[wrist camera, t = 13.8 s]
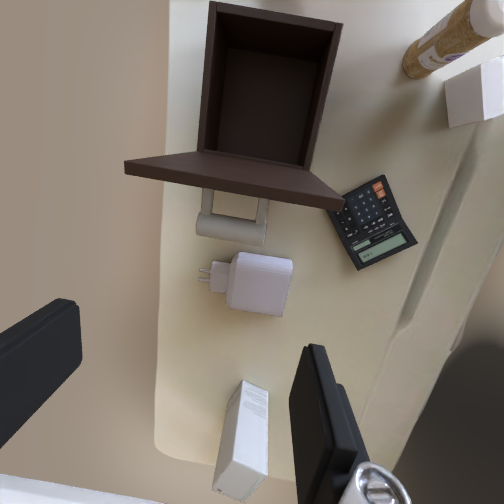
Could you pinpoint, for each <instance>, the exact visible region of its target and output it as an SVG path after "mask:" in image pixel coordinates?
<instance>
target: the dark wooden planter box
mask: <svg viewBox="0 0 504 504" xmlns="http://www.w3.org/2000/svg"><path fill="white" fill-rule="evenodd" d="M342 28H343V24H342V23H335V22H331V21H326V20H320V19H314V18H308V17H303V16H297V15H291V14H285V13H280V12H274V11H268V10H262V9H257V8H251V7H245V6H239V5H234V4H228V3H222V2H216V1H209V12H208V24H207V36H206V48H205V60H204V72H203V84H202V96H201V108H200V119H199V131H198V143H197V152H202V153H208V154H214V155H220V156H225V157H231V158H237V159H242V160H248V161H254V162H259V163H265V164H271V165H277V166H282V167H288V168H294V169H299V170H305V171H310V167H311V162H312V158H313V154H314V149H315V145H316V141H317V136H318V132H319V128H320V123H321V119H322V115H323V110H324V106H325V102H326V97H327V93H328V89H329V84H330V80H331V76H332V71H333V67H334V63H335V59H336V54H337V50H338V46H339V41H340V37H341V33H342Z"/></svg>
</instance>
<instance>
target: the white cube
mask: <svg viewBox="0 0 504 504" xmlns="http://www.w3.org/2000/svg"><path fill="white" fill-rule="evenodd" d="M444 85H445V94H446V104H447V113H448V122H449V128H452V127H456V126H461V125H466V124H471V123H476V122H480V121H485V120H488V119H490V118H493V117H496V116H499V115H502V114H504V55H502V56H499V57H497V58H494V59H492V60H489V61H487V62H484V63H481V64H479V65H477V66H475V67H473V68H471V69H469V70H467V71H465V72H463V73H460V74H458V75H456V76H454V77H452V78H450V79H448V80H446V81H444Z"/></svg>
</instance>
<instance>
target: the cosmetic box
mask: <svg viewBox="0 0 504 504" xmlns="http://www.w3.org/2000/svg"><path fill="white" fill-rule="evenodd" d="M267 466H268V391H265V390H263V389H261V388H259V387H256V386H254V385H252V384H250V383H248V382H245V381H242V382H241V384H240V385H239V387H238V388H237V390H236V391H235V393H234V394H233V396H232V398H231V399H230V401H229V402H228V404H227V409H226V414H225V420H224V425H223V431H222V436H221V442H220V447H219V452H218V458H217V463H216V468H215V474H214V479H213V485H212V490H213V491H215V492H218V493H221V494H223V495H226V496H228V497H231V498H233V499H236V500H238V501H241V502H243V503H246V501H247V500H248V499H249V498H250V496H251V495H252V494H253V493H254V492H255V490H256V489H257V488H258V487H259V485H260V484H261V483H262V482H263V481H264V479H265V478H266V477H267V476H268V475H267Z"/></svg>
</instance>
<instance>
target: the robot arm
mask: <svg viewBox="0 0 504 504" xmlns="http://www.w3.org/2000/svg"><path fill="white" fill-rule="evenodd" d="M79 313H80V312H79V306H78V305H76V303H75V301H72V300H67V299H61V298H58V299H55V300H54V301H52V302H51V303H49V304H47V305H46V306H44V307H43V308H41V309H39V310H38V311H36V312H34V313H33V314H31V315H29V316H28V317H26V318H25V319H23V320H22V321H20V322H18V323H16V324H15V325H13V326H12V327H10V328H8V329H7V330H5V331H3V332H2V333H0V449H1V448H2V446H3V445H4V444H5V443H6V442H7V441H8V440H9V439H10V438H11V437H12V436H13V435H14V434H15V433H16V431H18V430H19V429H20V428H21V427H22V425H23V424H24V423H25V422H26V421H27V420H28V419H29V418H30V417H31V416H32V415H33V414H34V413H35V412H36V411H37V410H38V409H39V408H40V407H41V406H42V404H43V403H44V402H45V401H46V400H47V399H48V398H49V397H50V396H51V395H52V394H53V393H54V392H55V391H56V390H57V389H58V388H59V387H60V386H61V384H62V383H63V382H64V381H65V380H66V379H67V378H68V377H69V376H70V375H71V374H72V373H73V372H74V371H75V370H76V369H77V368H78V367H79V365H80V364H81V361H82V342H81V327H80V314H79ZM289 411H290V422H291V433H292V444H293V454H294V465H295V476H296V486H297V496H298V497H297V498H298V504H412V503H411V500H410V498H409V496H408V494H407V492H406V490H405V488H404V487H403V485H402V484H401V483H400V481H399V480H398V479H397V478H396V477H395V476H394V475H393V474H392V473H391V472H390V471H389V470H387V469H386V468H385V467H383V466H382V465H379V464H377V463H374V462H370V459H369V456H368V454H367V451H366V448H365V445H364V442H363V439H362V437H361V434H360V431H359V428H358V425H357V422H356V420H355V417H354V414H353V411H352V408H351V405H350V403H349V400H348V397H347V394H346V391H345V389H344V387H343V386H342V385H341V384H337V383H336V381H335V378H334V375H333V372H332V369H331V365H330V362H329V359H328V356H327V353H326V350H325V347H324V346H322V345H316V344H311V343H310V344H309V345H308V347H307V346H304V348H303V351H302V354H301V358H300V361H299V364H298V368H297V371H296V375H295V378H294V382H293V385H292V389H291V392H290V396H289ZM0 504H166V503H161V502H156V501H150V500H145V499H140V498H134V497H129V496H123V495H118V494H112V493H107V492H101V491H96V490H89V489H84V488H79V487H73V486H68V485H62V484H57V483H50V482H45V481H40V480H34V479H28V478H23V477H17V476H11V475H5V474H0Z"/></svg>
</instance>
